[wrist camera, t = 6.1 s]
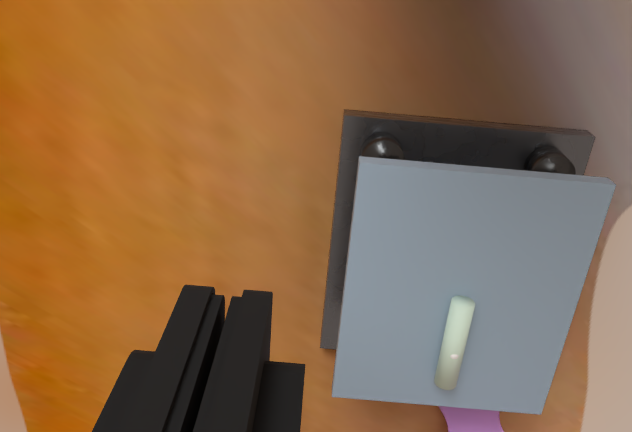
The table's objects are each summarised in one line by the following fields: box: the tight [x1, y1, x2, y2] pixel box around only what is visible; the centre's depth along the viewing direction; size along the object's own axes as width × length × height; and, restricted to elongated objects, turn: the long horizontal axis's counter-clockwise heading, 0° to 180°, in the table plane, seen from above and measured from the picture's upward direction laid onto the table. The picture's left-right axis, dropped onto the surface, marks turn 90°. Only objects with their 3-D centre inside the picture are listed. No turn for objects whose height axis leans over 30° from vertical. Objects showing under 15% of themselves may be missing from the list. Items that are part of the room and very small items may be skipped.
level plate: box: [332, 156, 616, 415], centre depth 40 cm, size 19×16×3 cm
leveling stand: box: [320, 110, 595, 349], centre depth 45 cm, size 21×18×6 cm
